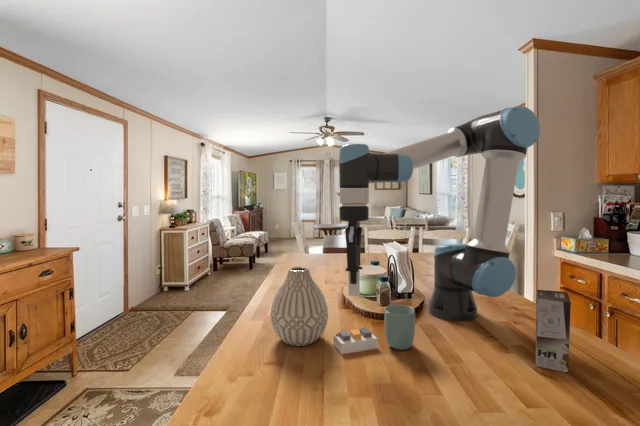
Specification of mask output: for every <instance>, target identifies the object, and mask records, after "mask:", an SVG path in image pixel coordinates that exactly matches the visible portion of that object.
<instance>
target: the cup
mask: <svg viewBox="0 0 640 426" xmlns="http://www.w3.org/2000/svg"><path fill="white" fill-rule="evenodd" d="M415 333H416V310H415V309H414V307H412V306H410V305H404V304H391V305H387V306H386V307H385V308H384V334H385V338H386V339H385V340H386V342H387V344H388V346H389V347H390V348H392V349H395V350H397V351H405V350H408V349H410V348H411V347H412V346H413V344H414V340H415V335H416V334H415Z"/></svg>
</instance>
